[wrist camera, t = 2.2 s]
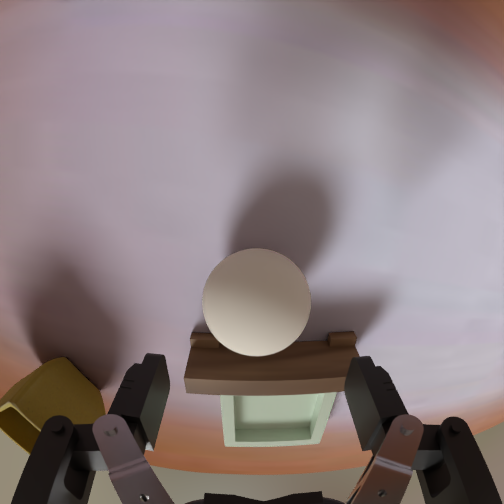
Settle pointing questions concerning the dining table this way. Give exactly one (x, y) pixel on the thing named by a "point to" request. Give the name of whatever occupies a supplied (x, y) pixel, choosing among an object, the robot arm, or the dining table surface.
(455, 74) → the dining table surface
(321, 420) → the dish
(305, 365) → the rail
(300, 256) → the dining table surface
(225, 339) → the ball
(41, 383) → the flower pot
